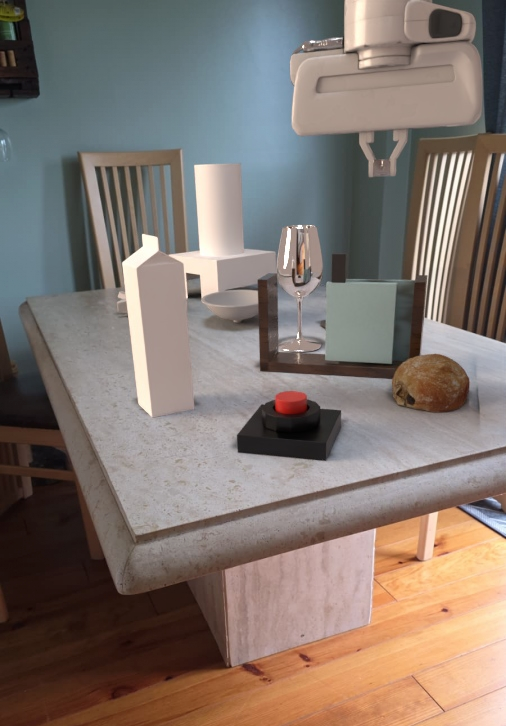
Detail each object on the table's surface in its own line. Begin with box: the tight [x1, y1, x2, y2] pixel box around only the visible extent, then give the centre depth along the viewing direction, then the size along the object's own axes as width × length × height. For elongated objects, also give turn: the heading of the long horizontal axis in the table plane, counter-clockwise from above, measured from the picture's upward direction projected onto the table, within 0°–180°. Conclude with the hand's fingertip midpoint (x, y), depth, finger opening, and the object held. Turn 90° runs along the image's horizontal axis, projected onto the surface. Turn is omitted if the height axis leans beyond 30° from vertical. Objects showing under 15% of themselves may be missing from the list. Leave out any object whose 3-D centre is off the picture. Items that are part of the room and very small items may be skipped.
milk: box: [121, 233, 195, 419], centre depth 79 cm, size 6×6×22 cm
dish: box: [200, 289, 258, 323], centre depth 128 cm, size 18×14×5 cm
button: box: [274, 390, 308, 414], centre depth 71 cm, size 4×4×2 cm
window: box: [324, 252, 397, 364], centre depth 91 cm, size 10×1×16 cm, turn 73°
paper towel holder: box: [168, 162, 277, 300], centre depth 151 cm, size 19×19×30 cm
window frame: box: [257, 273, 428, 380], centre depth 94 cm, size 24×6×14 cm, turn 73°
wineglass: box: [276, 224, 324, 353], centre depth 105 cm, size 8×8×20 cm
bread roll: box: [391, 353, 471, 413], centre depth 82 cm, size 10×10×8 cm
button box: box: [236, 398, 342, 462], centre depth 72 cm, size 10×10×4 cm
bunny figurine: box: [116, 290, 128, 314], centre depth 139 cm, size 10×5×15 cm
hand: (382, 176), depth 70 cm, fingers closed
